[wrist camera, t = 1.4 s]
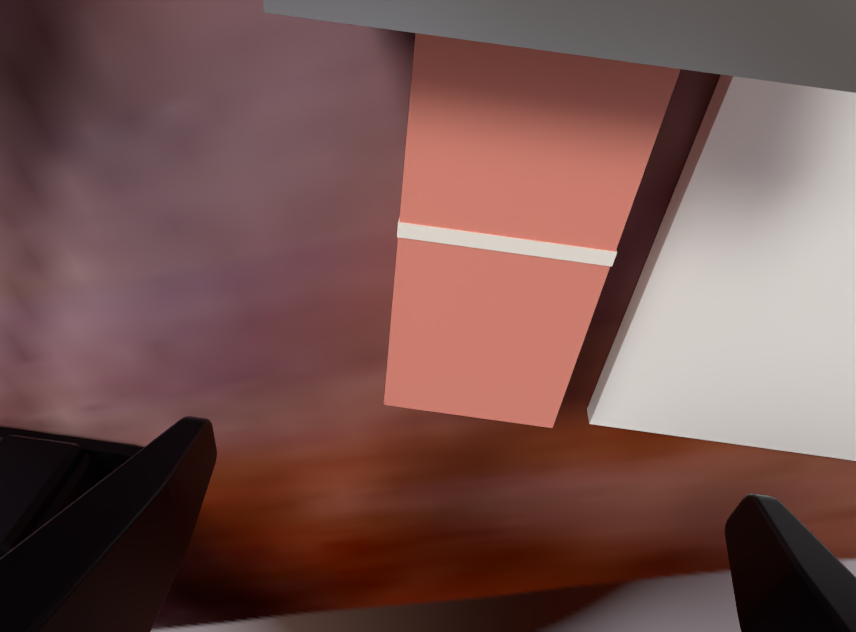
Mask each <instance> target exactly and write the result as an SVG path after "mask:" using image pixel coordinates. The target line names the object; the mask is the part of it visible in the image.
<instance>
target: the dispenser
mask: <svg viewBox="0 0 856 632" xmlns="http://www.w3.org/2000/svg"><path fill="white" fill-rule="evenodd" d="M263 8H264V13H272V14H279V15H287V16H294V17H301V18H309V19H316V20H323V21H331V22H338V23H345V24H353V25H360V26H367V27H375V28H382V29H390V30H397V31H404V32H412V33H419V34H426V35H434V36H441V37H448V38H456V39H463V40H470V41H478V42H485V43H493V44H500V45H507V46H515V47H522V48H529V49H537V50H544V51H551V52H559V53H566V54H574V55H581V56H588V57H596V58H603V59H610V60H618V61H625V62H632V63H640V64H647V65H654V66H662V67H669V68H677V69H684V70H691V71H699V72H706V73H713V74H721V75H728V76H735V77H743V78H750V79H757V80H765V81H772V82H780V83H787V84H794V85H802V86H809V87H816V88H824V89H831V90H838V91H846V92H853V93H856V0H263Z"/></svg>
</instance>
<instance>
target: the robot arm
mask: <svg viewBox="0 0 856 632" xmlns="http://www.w3.org/2000/svg"><path fill="white" fill-rule="evenodd" d="M216 457H217V449H216V443H215V438H214V432H213V427H212V423H211V422H210V420H209V419H205V418H198V417H191V416H189V417H184V418H182V419H180V420H179V421H178V422H176V423H175V424H174V425H173V426H171V427H170V428H169V429H167V430H166V431H165V432H164V433H162V434H161V435H160V436H158V437H157V438H156V439H154V440H153V441H152V442H151V443H149V444H148V445H147V446H145V447H144V448H143V449H141V450H140V449H138V448H136V447H132V446H127V445H119V444H112V443H105V442H98V441H91V440H84V439H76V438H69V437H62V436H55V435H48V434H40V433H33V432H26V431H19V430H12V429H5V428H0V632H150V631H151V629H152V626H153V624H154V622H155V620H156V618H157V615H158V613H159V611H160V609H161V607H162V604H163V602H164V600H165V598H166V595H167V593H168V591H169V589H170V587H171V584H172V582H173V580H174V578H175V576H176V573H177V571H178V569H179V567H180V565H181V562H182V560H183V558H184V555H185V553H186V550H187V548H188V545H189V542H190V539H191V536H192V533H193V530H194V527H195V524H196V521H197V518H198V515H199V512H200V509H201V506H202V503H203V500H204V497H205V494H206V490H207V487H208V484H209V481H210V478H211V475H212V472H213V469H214V466H215V462H216ZM725 538H726V544H727V551H728V557H729V563H730V569H731V576H732V582H733V588H734V594H735V601H736V607H737V612H738V618H739V623H740V628H741V631H742V632H856V577H855V576H854V575H853V574H852V573H851V572H850V571H849V570H848V569H847V568H846V567H845V566H844V565H843V564H842V563H841V562H840V561H839V560H838V559H837V558H836V557H835V556H834V555H833V554H832V553H831V552H830V551H829V550H828V549H827V548H826V547H825V546H824V545H823V544H822V543H821V542H820V541H819V540H818V539H817V538H816V537H815V536H814V535H813V534H812V533H811V532H810V531H809V530H808V529H807V528H806V527H805V526H804V525H803V524H802V523H801V522H800V521H799V520H798V519H797V518H796V517H795V516H794V515H793V514H792V513H791V512H790V511H789V510H788V509H787V508H786V507H785V506H784V505H783V504H782V503H781V502H780V501H779V500H777V499H776V498H774V497H772V496H767V495H759V494H748V495H746V496H745V497H744V498H743V499H742V501H741V502H740V503H739V505H738V506H737V507H736V509H735V510H734V511H733V513H732V514H731V515H730V517H729V518H728V520H727V522H726V525H725Z"/></svg>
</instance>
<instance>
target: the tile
mask: <svg viewBox="0 0 856 632" xmlns="http://www.w3.org/2000/svg"><path fill="white" fill-rule="evenodd" d="M587 413H588V419H589V424H594V425H601V426H608V427H615V428H623V429H630V430H637V431H644V432H651V433H659V434H666V435H673V436H680V437H687V438H695V439H702V440H709V441H716V442H724V443H731V444H738V445H745V446H752V447H760V448H767V449H774V450H781V451H788V452H796V453H803V454H810V455H817V456H824V457H832V458H839V459H846V460H853V461H856V93H853V92H846V91H838V90H831V89H824V88H816V87H809V86H802V85H794V84H787V83H780V82H772V81H765V80H757V79H750V78H743V77H735V76H728V75H720V78H719V80H718V83H717V85H716V88H715V90H714V93H713V95H712V98H711V100H710V103H709V105H708V108H707V110H706V113H705V115H704V118H703V120H702V123H701V125H700V128H699V130H698V133H697V135H696V138H695V140H694V143H693V145H692V148H691V150H690V153H689V155H688V158H687V160H686V163H685V165H684V168H683V170H682V173H681V175H680V178H679V180H678V183H677V185H676V188H675V190H674V193H673V195H672V198H671V200H670V203H669V205H668V208H667V210H666V213H665V215H664V218H663V220H662V223H661V225H660V228H659V230H658V233H657V235H656V238H655V240H654V243H653V245H652V248H651V250H650V253H649V255H648V258H647V260H646V263H645V265H644V268H643V270H642V273H641V275H640V278H639V280H638V283H637V285H636V288H635V290H634V293H633V295H632V298H631V300H630V303H629V305H628V308H627V310H626V313H625V315H624V318H623V320H622V323H621V325H620V328H619V330H618V333H617V335H616V338H615V340H614V343H613V345H612V348H611V350H610V353H609V355H608V358H607V360H606V363H605V365H604V368H603V370H602V373H601V375H600V378H599V380H598V383H597V385H596V388H595V390H594V393H593V395H592V398H591V400H590V403H589V405H588V408H587Z"/></svg>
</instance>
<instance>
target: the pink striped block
mask: <svg viewBox="0 0 856 632" xmlns="http://www.w3.org/2000/svg"><path fill="white" fill-rule="evenodd" d="M680 70H681V69H677V68H669V67H662V66H654V65H647V64H640V63H632V62H625V61H618V60H610V59H603V58H596V57H588V56H581V55H574V54H566V53H559V52H551V51H544V50H537V49H529V48H522V47H515V46H507V45H500V44H493V43H485V42H478V41H470V40H463V39H456V38H448V37H441V36H434V35H426V34H419V33H416V34H415V45H414V57H413V69H412V81H411V92H410V104H409V116H408V128H407V139H406V151H405V163H404V175H403V186H402V198H401V210H400V218H399V221H398V230H397V237H398V245H397V257H396V268H395V280H394V292H393V304H392V315H391V327H390V339H389V351H388V362H387V374H386V386H385V398H384V405H389V406H396V407H403V408H411V409H418V410H425V411H432V412H440V413H447V414H454V415H461V416H469V417H476V418H483V419H490V420H497V421H505V422H512V423H519V424H526V425H534V426H541V427H548V428H553V425H554V422H555V420H556V417H557V414H558V411H559V408H560V406H561V403H562V400H563V397H564V394H565V392H566V389H567V386H568V383H569V380H570V378H571V375H572V372H573V369H574V366H575V364H576V361H577V358H578V355H579V352H580V350H581V347H582V344H583V341H584V338H585V336H586V333H587V330H588V327H589V324H590V322H591V319H592V316H593V313H594V311H595V308H596V305H597V302H598V299H599V297H600V294H601V291H602V288H603V285H604V283H605V280H606V277H607V274H608V271H609V269H610V266H611V267H612V265H613V263H614V260H615V257H616V254H617V251H616V249H617V246H618V243H619V241H620V238H621V235H622V232H623V229H624V227H625V224H626V221H627V218H628V215H629V213H630V210H631V207H632V204H633V201H634V199H635V196H636V193H637V190H638V187H639V185H640V182H641V179H642V176H643V174H644V171H645V168H646V165H647V162H648V160H649V157H650V154H651V151H652V148H653V146H654V143H655V140H656V137H657V134H658V132H659V129H660V126H661V123H662V120H663V118H664V115H665V112H666V109H667V106H668V104H669V101H670V98H671V95H672V92H673V90H674V87H675V84H676V81H677V78H678V76H679V73H680Z"/></svg>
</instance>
